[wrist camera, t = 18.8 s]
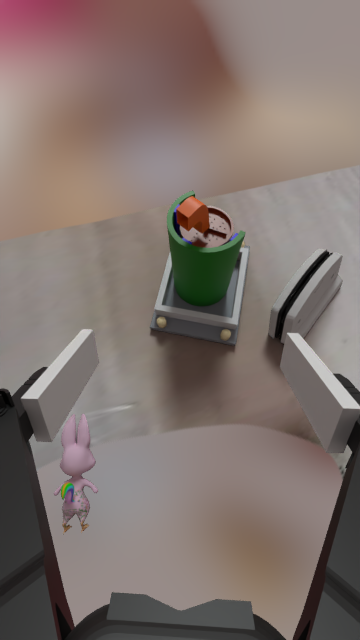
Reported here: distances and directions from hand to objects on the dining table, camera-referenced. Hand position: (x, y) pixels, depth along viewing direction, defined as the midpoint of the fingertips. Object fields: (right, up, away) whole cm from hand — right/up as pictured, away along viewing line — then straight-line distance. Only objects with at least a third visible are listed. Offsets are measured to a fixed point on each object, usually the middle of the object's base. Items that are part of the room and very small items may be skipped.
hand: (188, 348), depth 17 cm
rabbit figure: (-15, -20, +20) cm, 32 cm away
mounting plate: (+4, +8, +29) cm, 30 cm away
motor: (+3, +8, +28) cm, 30 cm away
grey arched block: (+21, +5, +27) cm, 35 cm away
